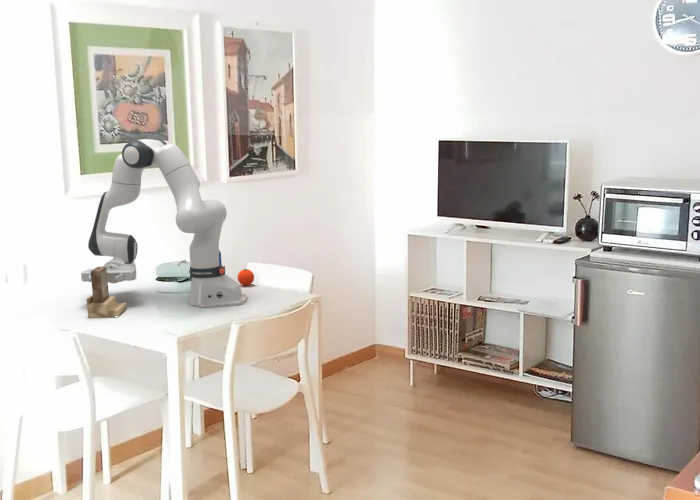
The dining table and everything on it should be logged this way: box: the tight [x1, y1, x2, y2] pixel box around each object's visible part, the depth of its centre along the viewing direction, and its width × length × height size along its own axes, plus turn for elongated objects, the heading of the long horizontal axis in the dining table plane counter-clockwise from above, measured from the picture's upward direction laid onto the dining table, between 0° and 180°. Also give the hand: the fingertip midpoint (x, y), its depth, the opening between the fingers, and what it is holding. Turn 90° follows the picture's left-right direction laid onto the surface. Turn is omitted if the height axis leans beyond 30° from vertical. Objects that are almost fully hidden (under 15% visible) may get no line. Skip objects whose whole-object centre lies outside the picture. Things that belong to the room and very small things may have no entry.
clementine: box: [237, 268, 255, 287], centre depth 334 cm, size 8×7×7 cm
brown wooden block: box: [90, 266, 110, 303], centre depth 294 cm, size 3×8×12 cm, turn 179°
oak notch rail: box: [86, 294, 128, 319], centre depth 296 cm, size 11×11×7 cm
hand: (102, 279), depth 298 cm, fingers open, 8 cm apart
